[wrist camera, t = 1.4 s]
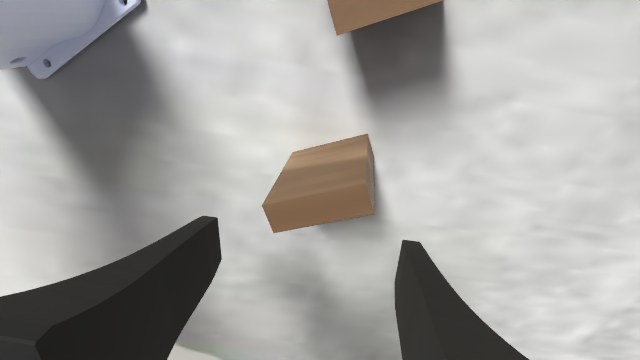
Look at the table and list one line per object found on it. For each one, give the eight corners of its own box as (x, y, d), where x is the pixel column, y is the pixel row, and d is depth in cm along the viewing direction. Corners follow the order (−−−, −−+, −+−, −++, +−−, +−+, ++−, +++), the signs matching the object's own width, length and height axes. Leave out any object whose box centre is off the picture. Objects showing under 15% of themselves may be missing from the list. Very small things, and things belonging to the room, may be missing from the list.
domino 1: (373, 157, 22) (374, 214, 16) (300, 174, 23) (273, 233, 17) (367, 133, 21) (365, 183, 15) (292, 152, 22) (261, 205, 16)
